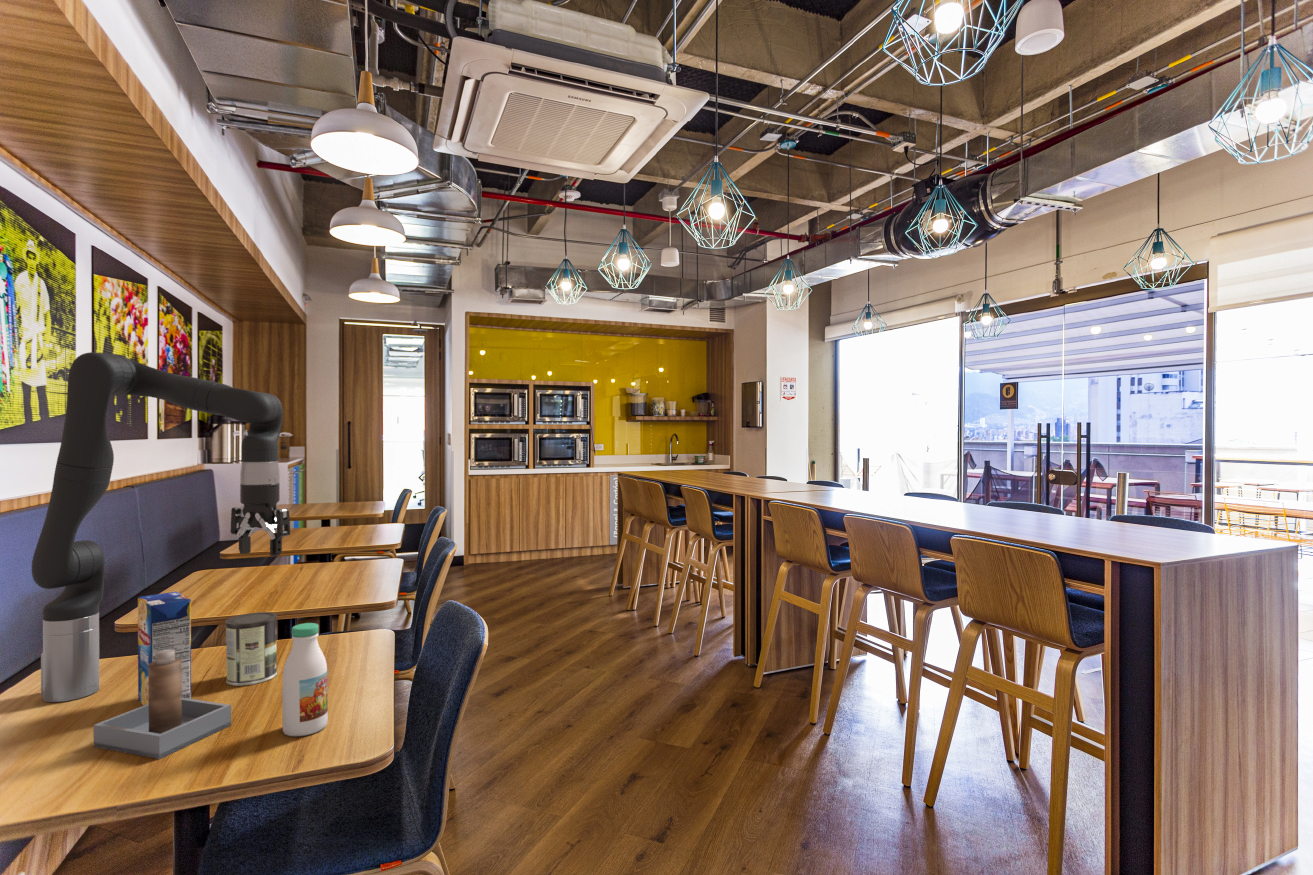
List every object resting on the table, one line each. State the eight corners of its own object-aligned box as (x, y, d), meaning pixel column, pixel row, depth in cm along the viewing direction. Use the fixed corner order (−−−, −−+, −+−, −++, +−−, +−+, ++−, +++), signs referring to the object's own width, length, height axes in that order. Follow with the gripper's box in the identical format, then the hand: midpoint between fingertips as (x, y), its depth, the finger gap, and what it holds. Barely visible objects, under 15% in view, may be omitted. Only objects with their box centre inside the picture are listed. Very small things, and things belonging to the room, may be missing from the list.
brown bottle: (142, 734, 124) (141, 654, 123) (168, 723, 128) (168, 646, 128) (162, 738, 122) (161, 657, 122) (188, 726, 127) (187, 649, 127)
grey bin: (93, 746, 121) (93, 724, 121) (169, 715, 134) (169, 695, 134) (159, 758, 116) (159, 736, 116) (231, 725, 130) (231, 704, 130)
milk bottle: (281, 740, 123) (281, 633, 123) (283, 724, 130) (283, 623, 130) (328, 732, 127) (327, 628, 126) (327, 717, 133) (327, 618, 133)
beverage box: (151, 713, 135) (151, 605, 135) (138, 699, 142) (137, 596, 142) (191, 703, 140) (190, 599, 140) (176, 690, 147) (176, 591, 147)
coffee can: (263, 666, 162) (262, 609, 162) (285, 675, 156) (285, 615, 156) (216, 680, 153) (216, 619, 153) (239, 689, 148) (239, 626, 148)
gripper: (219, 482, 146) (220, 555, 146) (271, 483, 142) (271, 559, 142) (249, 480, 153) (249, 550, 153) (299, 481, 149) (299, 553, 149)
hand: (260, 554), depth 148 cm, fingers open, 8 cm apart
